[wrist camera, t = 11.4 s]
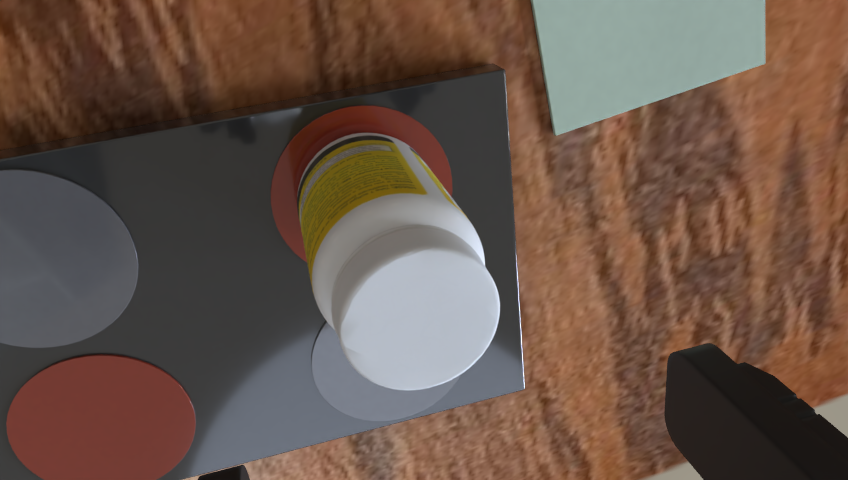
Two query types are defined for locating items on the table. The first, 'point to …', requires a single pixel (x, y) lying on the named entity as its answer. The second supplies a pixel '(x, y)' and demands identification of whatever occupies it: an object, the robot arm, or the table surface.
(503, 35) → the table surface
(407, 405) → the hob
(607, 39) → the cloth
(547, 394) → the table surface
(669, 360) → the robot arm
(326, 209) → the supplement bottle
